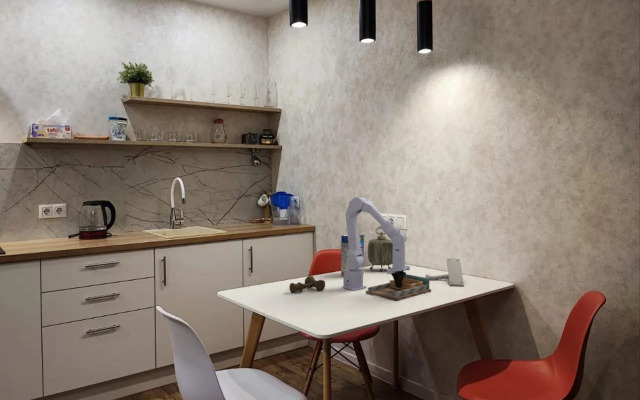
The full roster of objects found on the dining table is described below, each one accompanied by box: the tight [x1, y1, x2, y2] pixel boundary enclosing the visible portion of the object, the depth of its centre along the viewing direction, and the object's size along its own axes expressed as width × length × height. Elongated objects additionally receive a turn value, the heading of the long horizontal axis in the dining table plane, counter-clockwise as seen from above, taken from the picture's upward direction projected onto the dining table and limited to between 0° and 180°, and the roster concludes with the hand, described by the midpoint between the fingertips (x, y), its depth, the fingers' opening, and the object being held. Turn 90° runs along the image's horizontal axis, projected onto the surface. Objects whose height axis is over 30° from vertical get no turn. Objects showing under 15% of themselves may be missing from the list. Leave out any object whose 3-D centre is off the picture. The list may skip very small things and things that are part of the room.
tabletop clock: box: [367, 226, 393, 272], centre depth 274 cm, size 14×9×25 cm, turn 94°
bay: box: [365, 273, 432, 302], centre depth 223 cm, size 26×18×6 cm
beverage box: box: [340, 233, 365, 277], centre depth 260 cm, size 7×11×22 cm, turn 135°
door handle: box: [424, 257, 465, 287], centre depth 247 cm, size 18×8×20 cm
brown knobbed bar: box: [289, 275, 326, 294], centre depth 226 cm, size 6×10×20 cm
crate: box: [389, 278, 423, 290], centre depth 227 cm, size 10×12×3 cm
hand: (398, 287), depth 222 cm, fingers closed
